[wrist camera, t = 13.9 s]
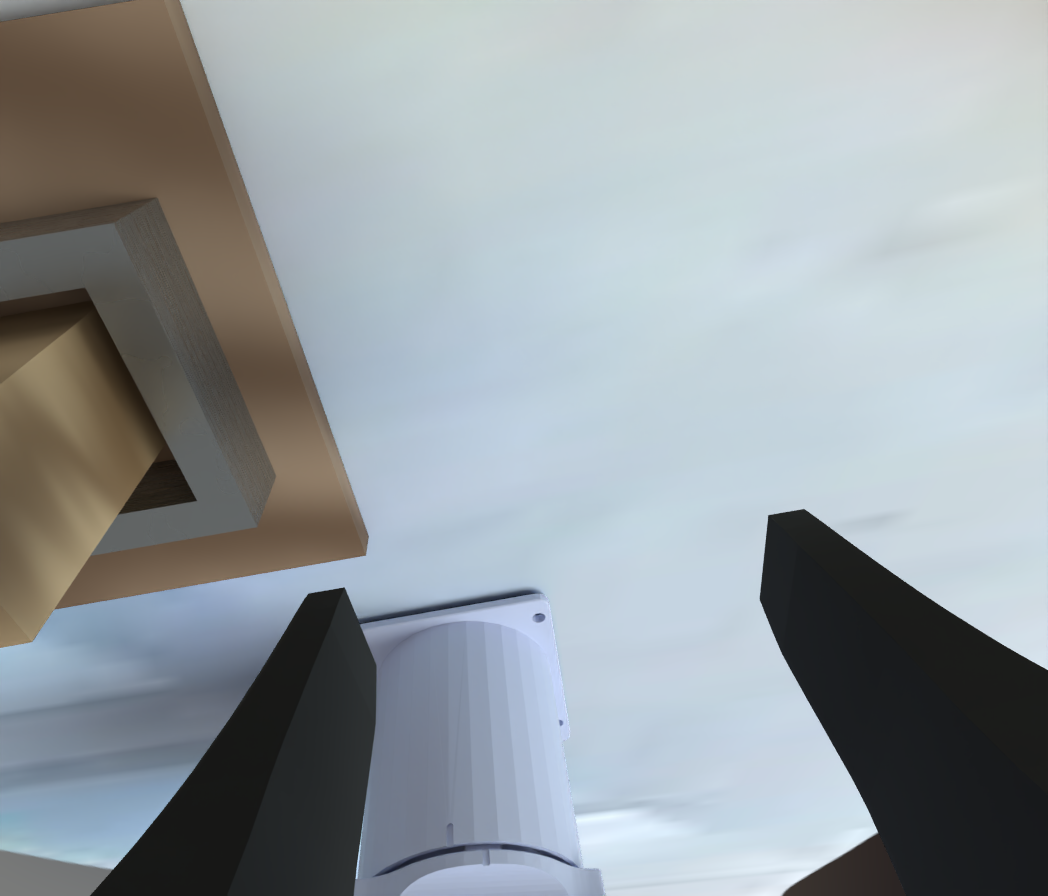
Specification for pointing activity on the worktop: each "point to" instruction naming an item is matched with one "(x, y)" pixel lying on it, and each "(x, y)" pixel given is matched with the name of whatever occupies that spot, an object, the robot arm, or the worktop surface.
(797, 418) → the worktop surface
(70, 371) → the peg
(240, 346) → the socket board
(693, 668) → the worktop surface
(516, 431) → the worktop surface
